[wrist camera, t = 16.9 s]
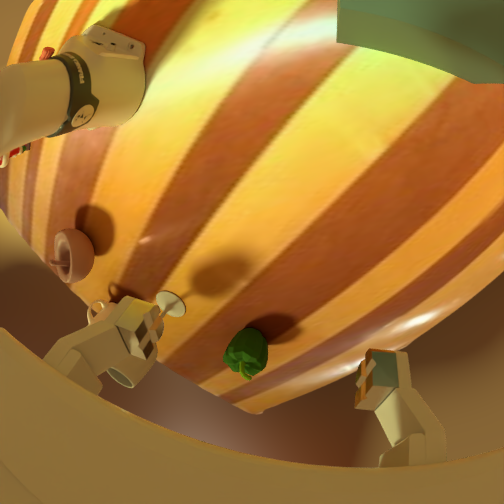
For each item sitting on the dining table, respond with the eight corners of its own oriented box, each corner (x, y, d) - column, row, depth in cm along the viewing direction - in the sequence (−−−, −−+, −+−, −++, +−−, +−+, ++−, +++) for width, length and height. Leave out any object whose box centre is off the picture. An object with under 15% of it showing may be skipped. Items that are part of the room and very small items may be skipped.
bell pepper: (226, 326, 56) (208, 362, 48) (259, 318, 52) (245, 358, 44) (246, 351, 59) (232, 387, 51) (278, 346, 55) (268, 384, 47)
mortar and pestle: (81, 210, 51) (44, 234, 42) (112, 252, 55) (78, 282, 45) (65, 234, 57) (34, 257, 47) (92, 270, 60) (63, 298, 51)
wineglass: (152, 287, 56) (95, 358, 39) (182, 293, 54) (127, 371, 37) (161, 313, 60) (112, 382, 43) (189, 319, 58) (143, 395, 41)
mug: (113, 289, 61) (87, 317, 53) (137, 325, 66) (116, 354, 58) (95, 291, 65) (71, 316, 56) (118, 325, 70) (98, 351, 61)
